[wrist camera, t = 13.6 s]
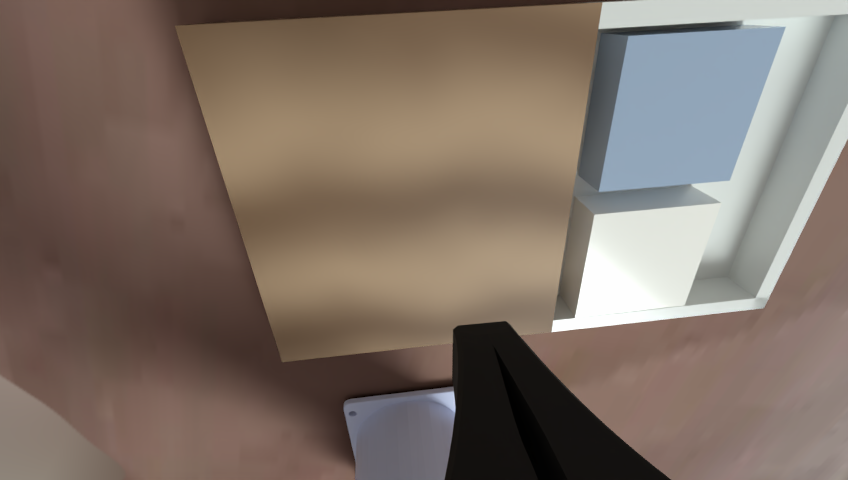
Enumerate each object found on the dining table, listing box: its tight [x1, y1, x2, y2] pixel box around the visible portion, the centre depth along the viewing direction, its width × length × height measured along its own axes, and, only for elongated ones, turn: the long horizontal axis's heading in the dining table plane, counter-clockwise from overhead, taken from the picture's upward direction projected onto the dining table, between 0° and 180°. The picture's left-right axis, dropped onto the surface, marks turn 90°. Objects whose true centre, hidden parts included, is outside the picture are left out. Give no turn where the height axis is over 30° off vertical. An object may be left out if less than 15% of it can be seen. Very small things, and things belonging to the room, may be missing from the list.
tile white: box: [560, 186, 722, 318], centre depth 20 cm, size 6×6×2 cm
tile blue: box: [578, 25, 786, 192], centre depth 17 cm, size 6×6×2 cm
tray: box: [552, 0, 848, 332], centre depth 19 cm, size 15×12×2 cm
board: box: [175, 2, 602, 362], centre depth 18 cm, size 15×14×2 cm
